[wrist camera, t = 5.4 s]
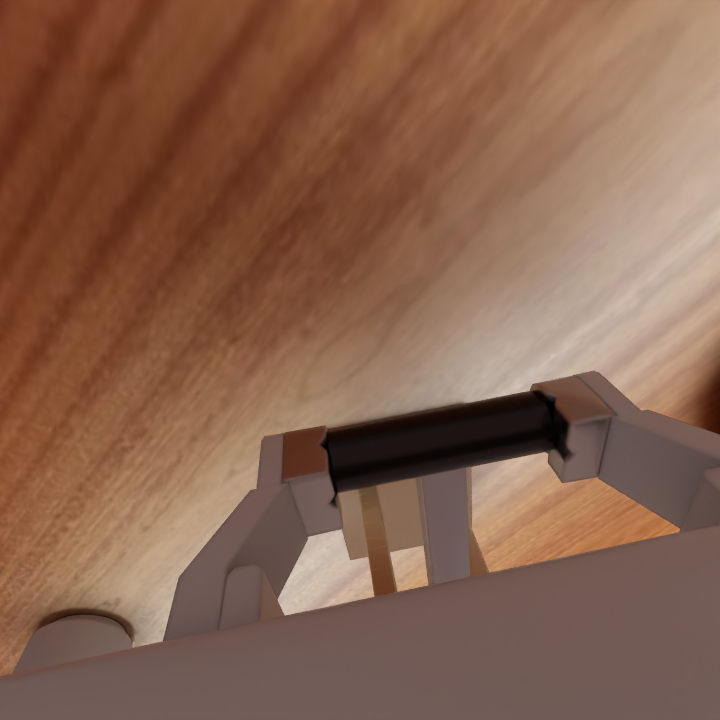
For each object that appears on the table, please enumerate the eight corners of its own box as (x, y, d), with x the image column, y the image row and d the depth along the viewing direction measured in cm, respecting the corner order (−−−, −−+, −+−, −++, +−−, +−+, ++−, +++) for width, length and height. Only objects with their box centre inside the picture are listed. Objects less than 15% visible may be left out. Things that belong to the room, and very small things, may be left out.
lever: (323, 407, 11) (328, 476, 9) (519, 368, 11) (571, 428, 9) (392, 691, 18) (404, 765, 16) (507, 667, 18) (533, 737, 16)
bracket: (318, 431, 23) (336, 728, 12) (463, 403, 23) (607, 670, 12) (348, 544, 28) (379, 820, 18) (466, 520, 29) (568, 778, 18)
